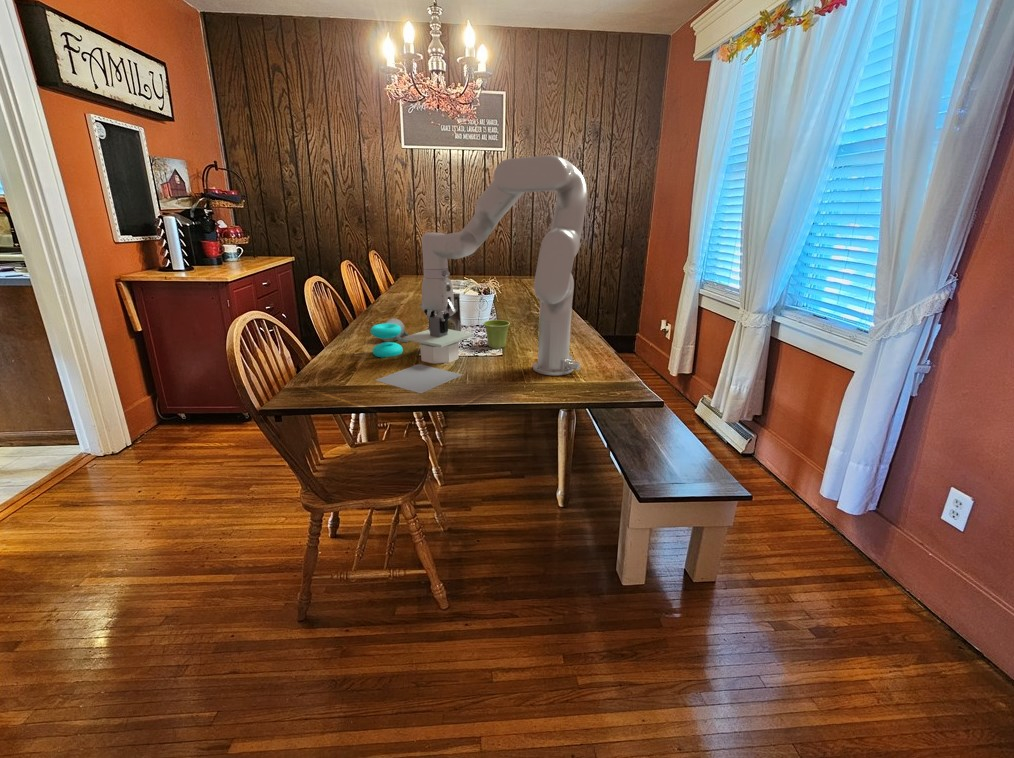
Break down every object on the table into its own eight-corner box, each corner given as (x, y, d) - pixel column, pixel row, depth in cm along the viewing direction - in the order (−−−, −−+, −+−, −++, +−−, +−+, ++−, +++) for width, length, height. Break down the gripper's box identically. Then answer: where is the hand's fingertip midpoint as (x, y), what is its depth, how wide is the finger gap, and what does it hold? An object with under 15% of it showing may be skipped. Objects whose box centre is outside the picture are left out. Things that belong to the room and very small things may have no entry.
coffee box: (461, 334, 189) (460, 293, 183) (461, 338, 183) (460, 296, 177) (438, 334, 188) (436, 293, 183) (437, 338, 182) (435, 296, 176)
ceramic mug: (378, 342, 176) (376, 322, 174) (387, 337, 184) (385, 317, 181) (405, 344, 175) (404, 324, 172) (413, 339, 182) (412, 319, 180)
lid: (473, 336, 158) (473, 315, 155) (441, 347, 145) (440, 325, 143) (436, 329, 166) (435, 309, 164) (403, 339, 154) (402, 318, 151)
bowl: (465, 357, 160) (464, 340, 158) (441, 367, 150) (440, 348, 148) (438, 351, 166) (437, 334, 164) (413, 360, 157) (412, 342, 155)
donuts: (374, 322, 164) (403, 322, 164) (377, 350, 168) (405, 350, 168) (366, 329, 155) (397, 329, 155) (369, 358, 158) (399, 359, 158)
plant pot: (507, 350, 168) (507, 326, 165) (481, 349, 169) (481, 325, 166) (511, 343, 176) (511, 320, 173) (486, 342, 178) (486, 319, 175)
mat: (463, 376, 142) (462, 374, 142) (421, 395, 128) (420, 393, 128) (418, 365, 152) (418, 363, 152) (374, 382, 138) (374, 380, 138)
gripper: (464, 274, 147) (466, 332, 154) (424, 270, 156) (427, 325, 162) (448, 277, 141) (451, 337, 148) (407, 273, 150) (411, 330, 156)
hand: (438, 330), depth 155 cm, fingers closed on lid, 4 cm apart
